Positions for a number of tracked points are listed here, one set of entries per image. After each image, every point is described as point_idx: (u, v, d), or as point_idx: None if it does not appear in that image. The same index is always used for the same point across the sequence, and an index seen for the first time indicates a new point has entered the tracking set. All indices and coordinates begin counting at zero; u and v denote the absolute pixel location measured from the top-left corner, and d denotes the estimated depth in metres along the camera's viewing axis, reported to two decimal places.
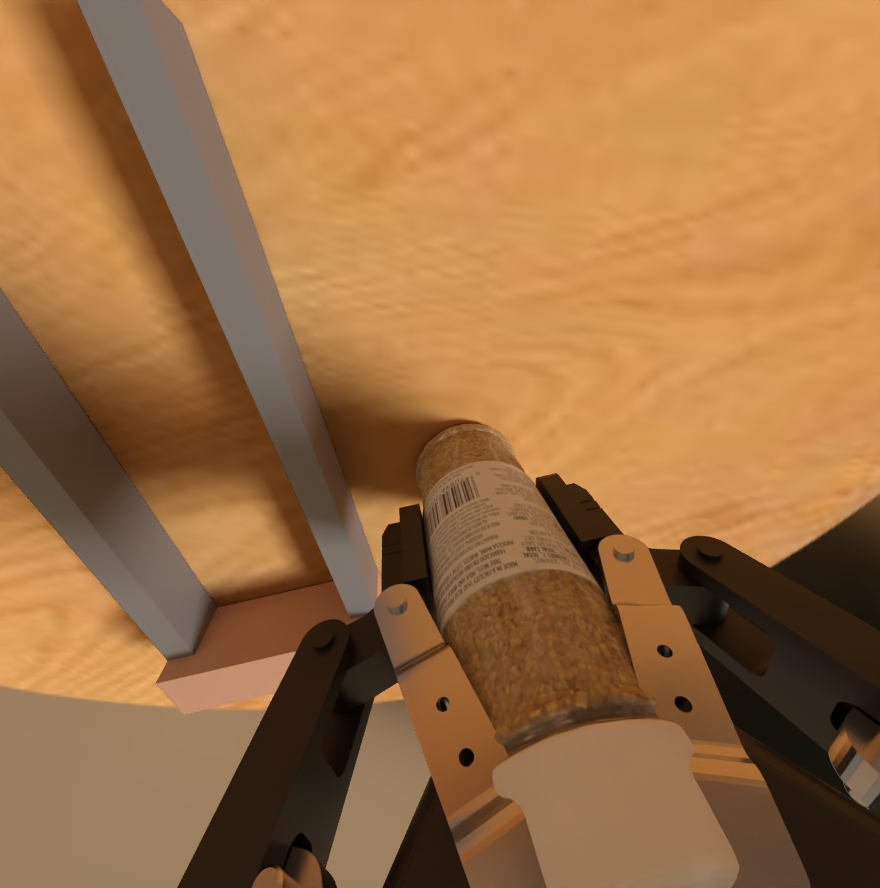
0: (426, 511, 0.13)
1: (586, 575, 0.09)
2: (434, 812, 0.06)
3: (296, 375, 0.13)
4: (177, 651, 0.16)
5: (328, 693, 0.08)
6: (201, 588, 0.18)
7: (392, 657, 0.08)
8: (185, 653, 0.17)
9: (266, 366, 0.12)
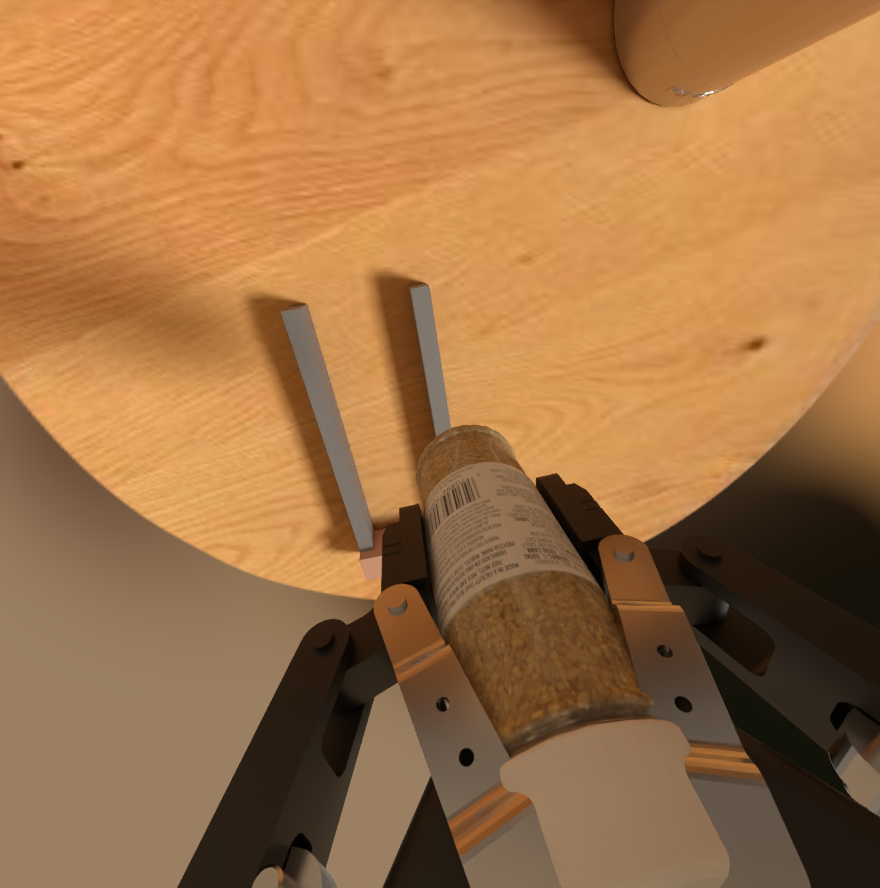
0: (427, 512, 0.13)
1: (587, 576, 0.09)
2: (434, 812, 0.06)
3: None
4: (366, 546, 0.32)
5: (328, 693, 0.08)
6: (370, 518, 0.34)
7: (392, 658, 0.08)
8: (369, 548, 0.32)
9: (442, 409, 0.28)
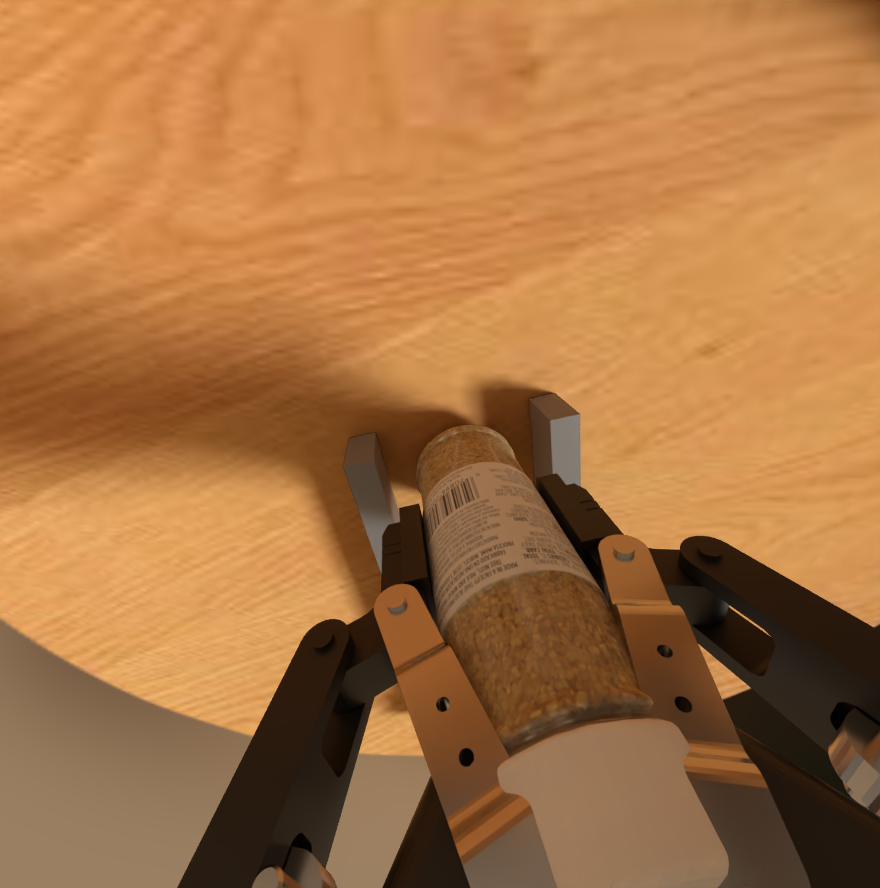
0: (426, 512, 0.13)
1: (586, 576, 0.09)
2: (434, 812, 0.06)
3: None
4: None
5: (328, 693, 0.08)
6: None
7: (392, 658, 0.08)
8: None
9: None
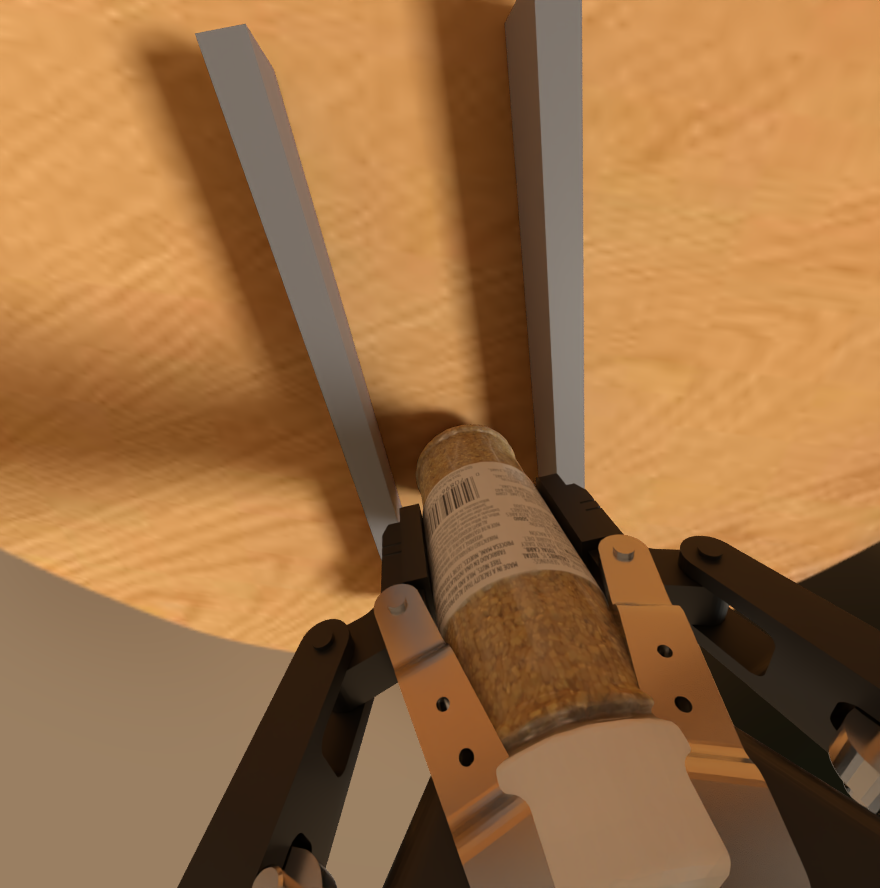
0: (426, 512, 0.13)
1: (586, 575, 0.09)
2: (434, 812, 0.06)
3: None
4: None
5: (328, 693, 0.08)
6: None
7: (392, 657, 0.08)
8: None
9: (571, 319, 0.13)
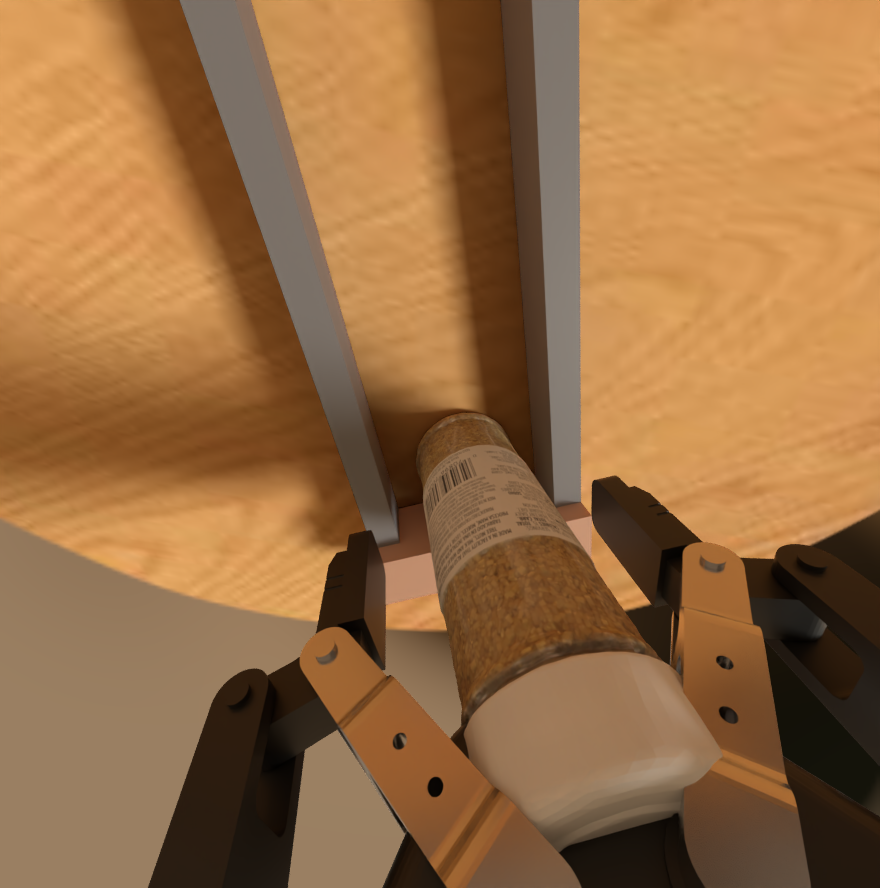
0: (426, 492, 0.14)
1: (574, 542, 0.10)
2: None
3: None
4: (385, 538, 0.16)
5: (255, 748, 0.07)
6: None
7: (332, 712, 0.07)
8: (391, 541, 0.16)
9: (566, 199, 0.11)
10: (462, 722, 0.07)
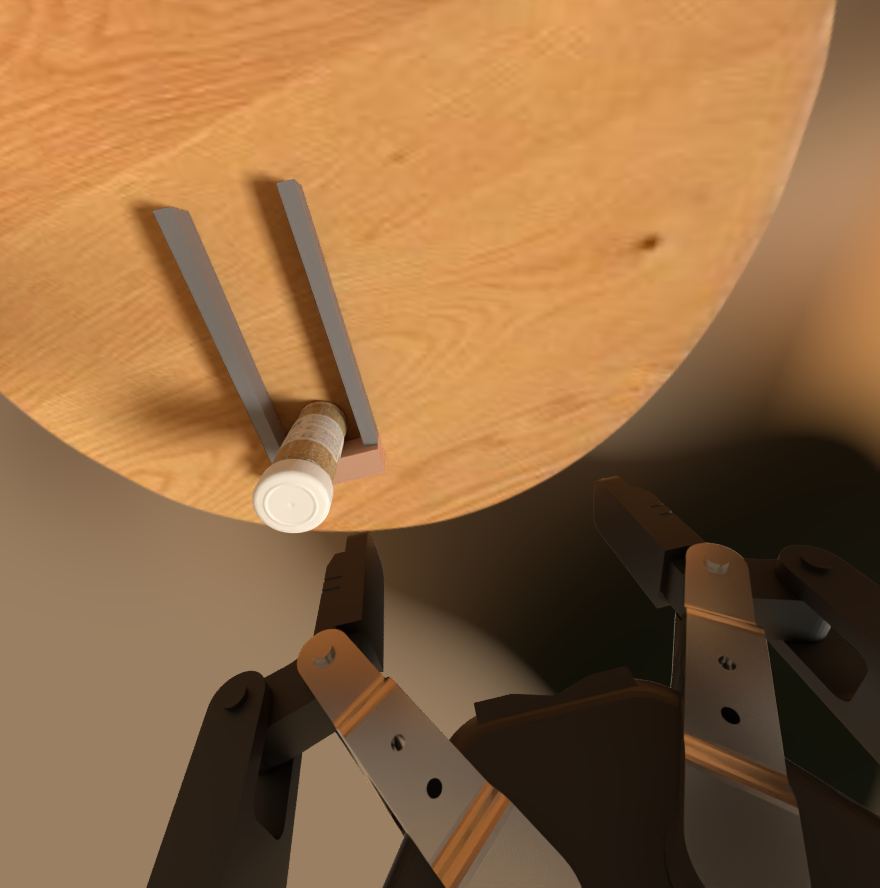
0: None
1: (321, 442, 0.27)
2: None
3: (340, 318, 0.30)
4: None
5: (252, 750, 0.07)
6: None
7: (330, 714, 0.07)
8: None
9: (330, 312, 0.29)
10: None
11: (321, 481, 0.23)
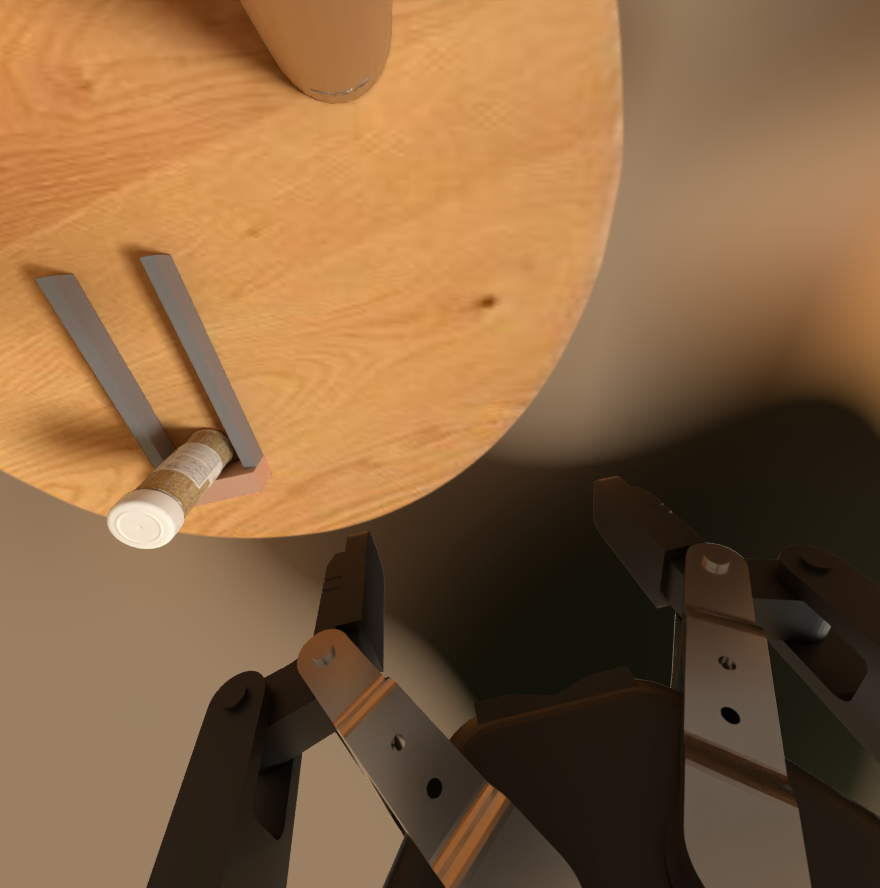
0: None
1: (183, 472, 0.32)
2: None
3: (213, 363, 0.35)
4: None
5: (252, 750, 0.07)
6: None
7: (329, 714, 0.07)
8: None
9: (199, 359, 0.34)
10: None
11: (165, 509, 0.28)
